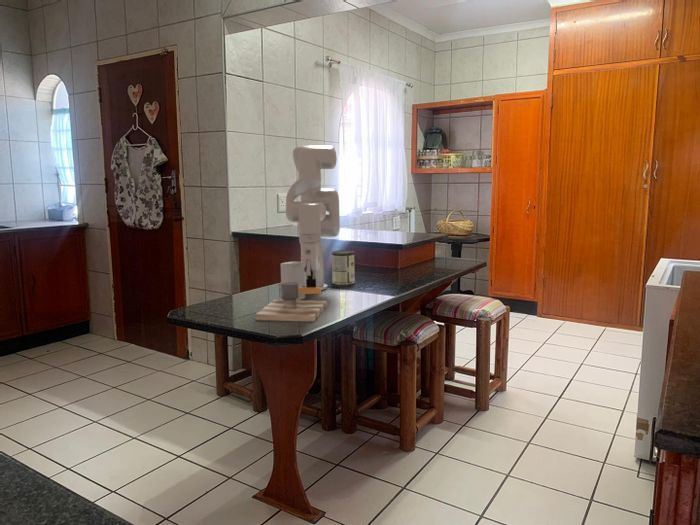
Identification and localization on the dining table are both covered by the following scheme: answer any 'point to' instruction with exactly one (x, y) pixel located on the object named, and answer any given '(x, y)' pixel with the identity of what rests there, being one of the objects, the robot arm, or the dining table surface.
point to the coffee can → (343, 267)
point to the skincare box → (293, 275)
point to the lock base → (292, 310)
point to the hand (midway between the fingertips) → (311, 289)
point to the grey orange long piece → (296, 290)
